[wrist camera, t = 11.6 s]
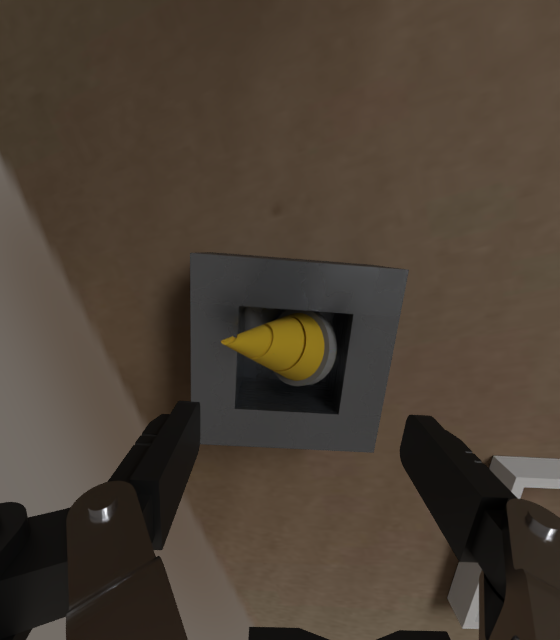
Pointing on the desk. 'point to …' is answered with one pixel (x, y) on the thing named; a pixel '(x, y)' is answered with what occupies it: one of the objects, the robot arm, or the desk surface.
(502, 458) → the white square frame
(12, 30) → the desk surface
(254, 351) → the drill bit
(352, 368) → the bit holder
